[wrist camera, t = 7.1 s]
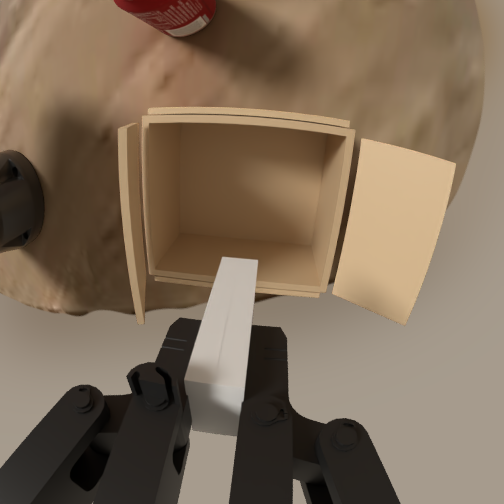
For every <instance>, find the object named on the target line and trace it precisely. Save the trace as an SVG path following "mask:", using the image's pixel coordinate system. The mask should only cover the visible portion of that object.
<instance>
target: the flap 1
mask: <svg viewBox="0 0 504 504" xmlns="http://www.w3.org/2000/svg"><path fill="white" fill-rule="evenodd" d="M118 163H119V185H120V200H121V212H122V223H123V233H124V242H125V250H126V258H127V265H128V272H129V278H130V285H131V291H132V297H133V302H134V308H135V313H136V318H137V323H138V324H144V323H145V291H146V265H145V256H144V246H143V234H142V222H141V206H140V187H139V123H131V124H128V125H126V126H123V127H120V128H118Z"/></svg>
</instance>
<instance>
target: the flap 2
mask: <svg viewBox="0 0 504 504" xmlns="http://www.w3.org/2000/svg"><path fill="white" fill-rule="evenodd" d="M455 166H456V163H453V162H450V161H447V160H444V159H440V158H437V157H434V156H431V155H427V154H424V153H420V152H417V151H413V150H410V149H406V148H402V147H398V146H394V145H390V144H386V143H382V142H378V141H373V140H369V139H364V138H362V140H361V147H360V154H359V161H358V168H357V174H356V180H355V186H354V192H353V198H352V203H351V208H350V214H349V219H348V224H347V229H346V234H345V239H344V243H343V248H342V253H341V257H340V261H339V266H338V270H337V274H336V278H335V283H334V287H333V291H332V294H334V295H336V296H338V297H340V298H343V299H345V300H347V301H350V302H352V303H354V304H356V305H359V306H361V307H363V308H365V309H367V310H370V311H372V312H374V313H377V314H379V315H381V316H384V317H386V318H388V319H390V320H393V321H395V322H397V323H400V324H402V325H404V326H405V325H406V323H407V321H408V318H409V316H410V314H411V311H412V309H413V306H414V304H415V302H416V299H417V297H418V294H419V291H420V289H421V286H422V284H423V281H424V278H425V276H426V273H427V270H428V267H429V264H430V261H431V258H432V255H433V252H434V249H435V246H436V243H437V239H438V236H439V232H440V229H441V226H442V222H443V219H444V215H445V211H446V207H447V203H448V199H449V195H450V190H451V186H452V181H453V177H454V172H455Z"/></svg>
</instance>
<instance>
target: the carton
mask: <svg viewBox="0 0 504 504" xmlns="http://www.w3.org/2000/svg"><path fill="white" fill-rule="evenodd" d="M177 113H203V114H177ZM148 114H162V115H148V116H142V185H143V207H144V222H145V236H146V247H147V258H148V267H149V274H150V275H155V276H154V278H155V281H161V282H169V283H177V284H185V285H193V286H201V287H210V288H213V285H214V281H215V278H216V275H217V272H218V269H219V266H220V263H221V260H222V257H230V258H241V259H252V260H258V267H257V278H256V289H255V292H257V293H267V294H278V295H289V296H301V297H313V298H319V296H320V292H322V293H326V290H327V285H328V281H329V277H330V272H331V268H332V263H333V259H334V254H335V249H336V245H337V240H338V235H339V230H340V225H341V219H342V214H343V208H344V203H345V197H346V191H347V185H348V179H349V173H350V166H351V159H352V152H353V145H354V137H355V130H353V129H349V128H345V127H349V124H350V121H347V120H341V119H335V118H329V117H323V116H316V115H309V114H301V113H292V112H283V111H273V110H261V109H246V108H226V107H163V108H148ZM230 114H234V115H230ZM248 115H251V116H248ZM262 116H265V117H262ZM274 117H276V118H274ZM284 118H286V119H284ZM293 119H295V120H293ZM301 120H303V121H301ZM309 121H311V122H309ZM317 122H318V123H317ZM323 123H325V124H323ZM330 124H331V125H330ZM335 125H337V126H335ZM340 126H343V127H340Z"/></svg>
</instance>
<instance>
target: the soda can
mask: <svg viewBox="0 0 504 504" xmlns="http://www.w3.org/2000/svg"><path fill="white" fill-rule="evenodd" d="M114 2H115V3H116V5H117V6H118V7H120V8H121V9H123V10H125V11H126V12H128V13H130V14H132V15H134V16H135V17H137V18H139V19H141V20H142V21H144V22H146V23H148V24H149V25H151V26H153V27H154V28H156V29H158V30H159V31H161V32H162V33H164V34H166V35H169V36H173V37H183V36H188V35H192V34H194V33H196V32H198V31H200V30H201V29H203V28H204V27H205V26H206V25H208V23H209V22H210V21H211V20H212V18H213V16H214V14H215V11H216V0H114Z"/></svg>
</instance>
